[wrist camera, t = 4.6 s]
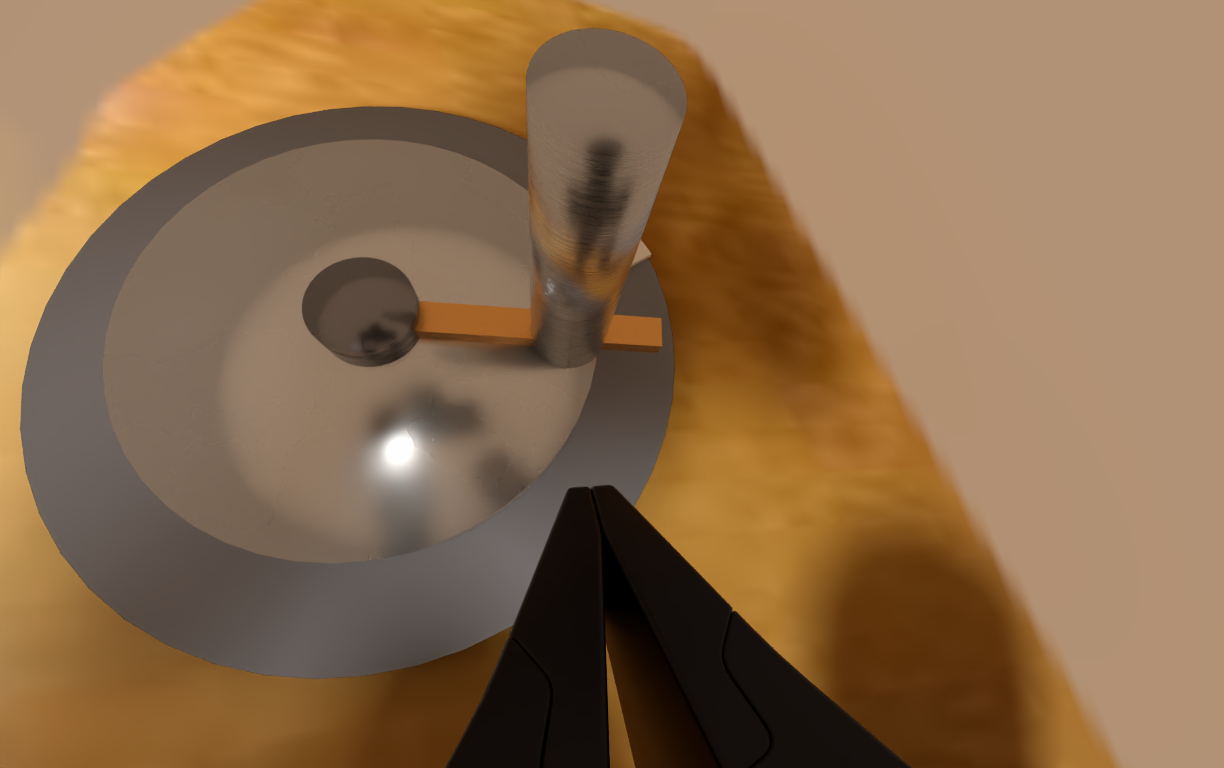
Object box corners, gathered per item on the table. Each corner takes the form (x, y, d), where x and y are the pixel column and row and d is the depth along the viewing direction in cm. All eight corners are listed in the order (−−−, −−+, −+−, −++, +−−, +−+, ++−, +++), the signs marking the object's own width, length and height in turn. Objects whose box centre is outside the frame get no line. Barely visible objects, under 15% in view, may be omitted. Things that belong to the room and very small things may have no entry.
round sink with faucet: (66, 562, 13) (-1478, 652, 3) (206, 143, 17) (-232, -380, 7) (654, 559, 15) (872, 601, 5) (645, 191, 19) (756, -154, 10)
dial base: (617, 711, 15) (627, 732, 13) (-82, 603, 13) (-170, 613, 11) (691, 203, 21) (704, 175, 20) (232, 84, 20) (205, 43, 18)
